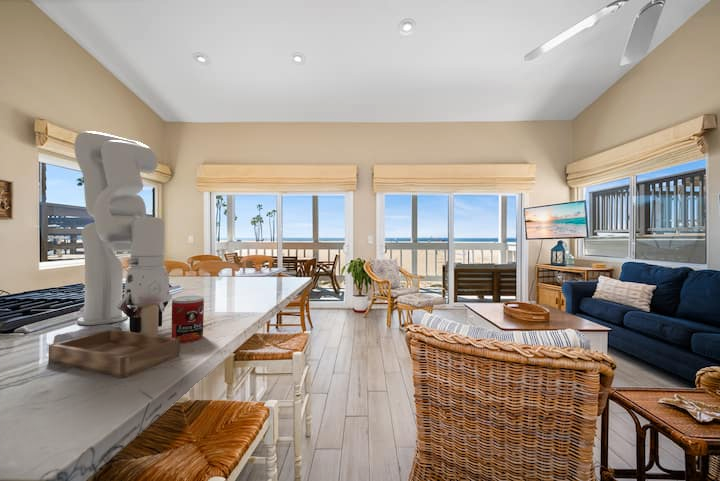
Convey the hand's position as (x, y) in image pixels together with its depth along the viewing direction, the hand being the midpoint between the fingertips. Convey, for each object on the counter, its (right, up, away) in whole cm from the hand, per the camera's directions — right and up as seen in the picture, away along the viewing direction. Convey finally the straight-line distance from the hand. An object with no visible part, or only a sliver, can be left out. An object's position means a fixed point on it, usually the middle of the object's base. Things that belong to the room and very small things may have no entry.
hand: (146, 328), depth 87 cm
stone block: (-12, -3, -5) cm, 13 cm away
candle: (0, -3, 0) cm, 3 cm away
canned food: (+11, -3, 0) cm, 12 cm away
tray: (+4, -3, -15) cm, 16 cm away
